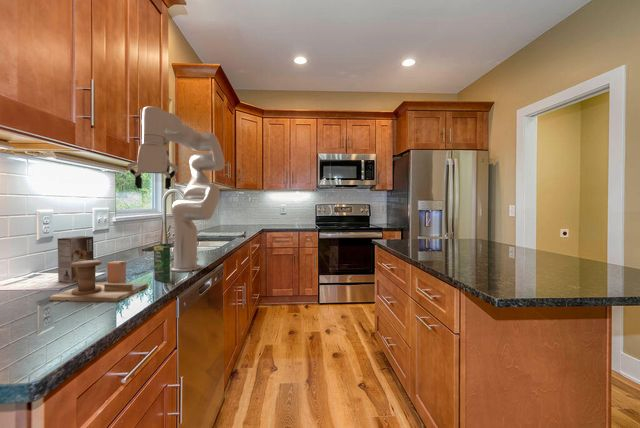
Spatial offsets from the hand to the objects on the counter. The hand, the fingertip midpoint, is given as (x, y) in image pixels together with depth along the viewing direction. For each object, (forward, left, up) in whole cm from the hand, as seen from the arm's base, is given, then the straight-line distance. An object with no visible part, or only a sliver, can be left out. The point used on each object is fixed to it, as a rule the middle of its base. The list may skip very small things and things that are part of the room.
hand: (153, 188), depth 115 cm
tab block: (+3, -12, -35) cm, 37 cm away
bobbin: (+17, -12, -34) cm, 40 cm away
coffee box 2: (-4, +1, -35) cm, 35 cm away
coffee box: (-3, -31, -35) cm, 47 cm away
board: (+14, -9, -35) cm, 39 cm away
